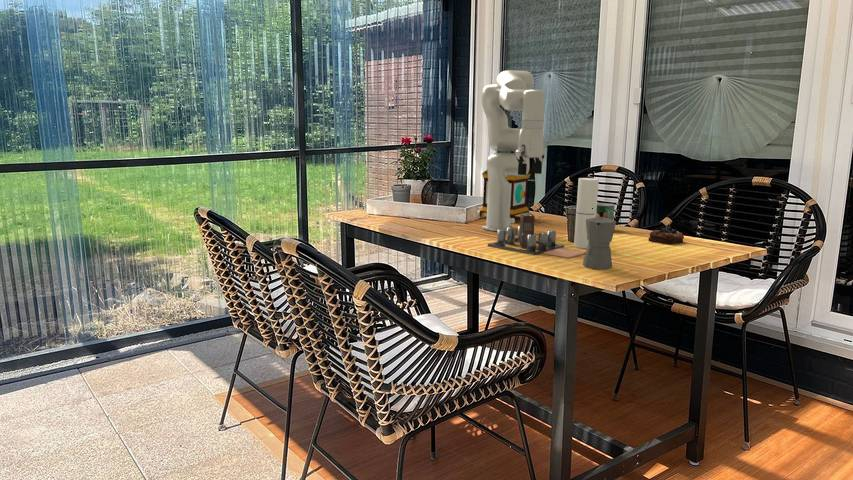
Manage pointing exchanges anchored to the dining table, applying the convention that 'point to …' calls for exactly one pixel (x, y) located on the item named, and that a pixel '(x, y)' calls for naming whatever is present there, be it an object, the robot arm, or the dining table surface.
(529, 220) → the box
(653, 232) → the pastry
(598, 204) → the canned tomato
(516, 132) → the robot arm
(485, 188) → the decorative lantern
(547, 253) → the mat
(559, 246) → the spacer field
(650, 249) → the dining table surface
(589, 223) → the coffeepot
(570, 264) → the dining table surface
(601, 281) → the dining table surface
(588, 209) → the white tall block
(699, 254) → the dining table surface
